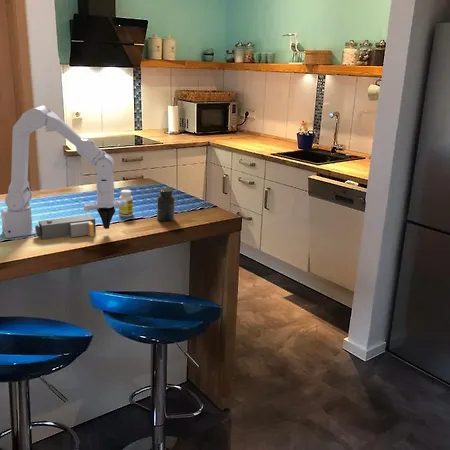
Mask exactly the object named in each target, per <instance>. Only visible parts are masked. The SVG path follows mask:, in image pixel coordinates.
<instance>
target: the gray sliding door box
mask: <svg viewBox="0 0 450 450" xmlns="http://www.w3.org/2000/svg"><path fill="white" fill-rule="evenodd" d="M86 221H91V222H92V223H93V227H94V234H95V233H97V231H96V230H97V229H96V218H95V217H93V215H91V214H88V215H78V216H77V215H76V216H70V217H63V218H54V219H53V218H52V219H46V220H38V225H35V227H34V231H35V232H36V234H35V236H36V237H41V239H42V240H43V241H44V240H50V239H57V238H59V239H60V238H65V237H71V236H70V223H78V222H86Z"/></svg>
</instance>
